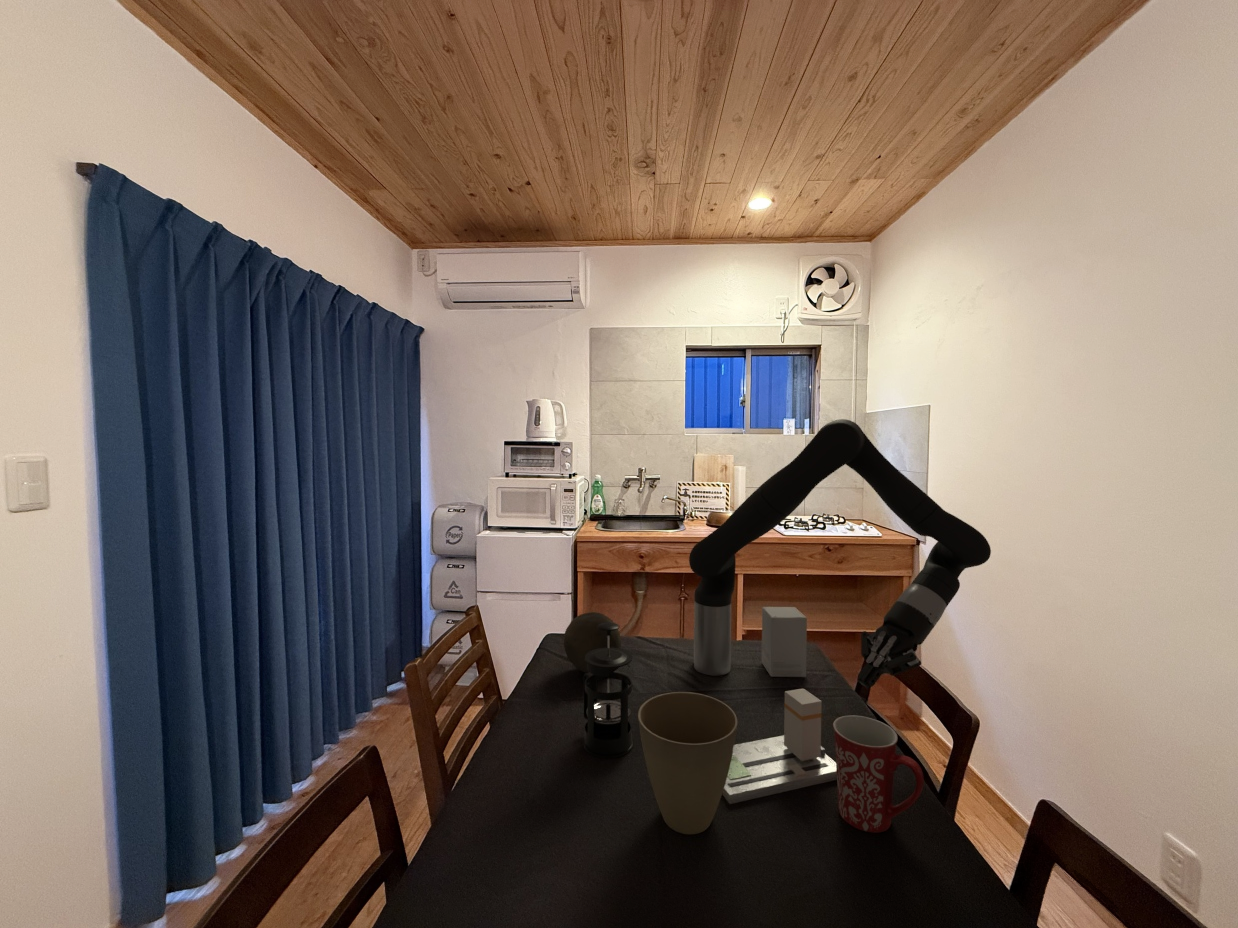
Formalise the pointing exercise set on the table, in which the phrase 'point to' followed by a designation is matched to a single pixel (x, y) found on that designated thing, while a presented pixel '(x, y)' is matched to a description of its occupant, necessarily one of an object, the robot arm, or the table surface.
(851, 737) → the mug
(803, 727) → the fader knob
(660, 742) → the plant pot
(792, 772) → the console
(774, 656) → the supplement box
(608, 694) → the french press
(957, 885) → the table surface
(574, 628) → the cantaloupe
